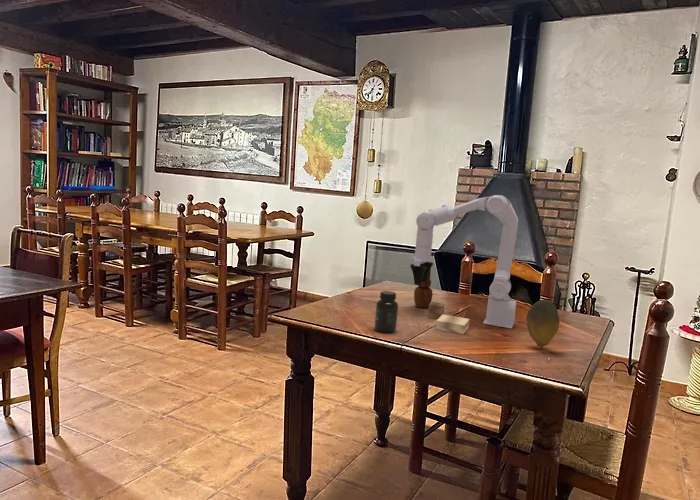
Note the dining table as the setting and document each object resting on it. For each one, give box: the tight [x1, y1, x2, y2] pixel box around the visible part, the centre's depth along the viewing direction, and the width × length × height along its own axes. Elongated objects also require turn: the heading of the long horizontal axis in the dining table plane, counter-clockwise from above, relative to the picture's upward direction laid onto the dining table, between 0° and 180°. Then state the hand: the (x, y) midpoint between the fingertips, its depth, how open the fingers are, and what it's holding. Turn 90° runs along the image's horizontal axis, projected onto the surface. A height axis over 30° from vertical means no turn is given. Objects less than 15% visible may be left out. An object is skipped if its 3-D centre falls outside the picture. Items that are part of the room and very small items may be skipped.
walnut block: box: [427, 301, 445, 320], centre depth 183 cm, size 4×4×5 cm
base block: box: [435, 314, 470, 335], centre depth 171 cm, size 9×9×3 cm
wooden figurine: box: [413, 268, 433, 309], centre depth 197 cm, size 7×6×15 cm
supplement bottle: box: [373, 290, 399, 334], centre depth 164 cm, size 7×7×12 cm
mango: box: [525, 299, 561, 349], centre depth 156 cm, size 10×6×15 cm, turn 48°
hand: (420, 283), depth 191 cm, fingers open, 7 cm apart
